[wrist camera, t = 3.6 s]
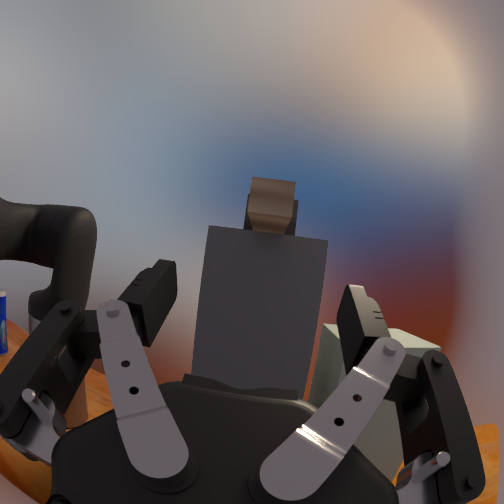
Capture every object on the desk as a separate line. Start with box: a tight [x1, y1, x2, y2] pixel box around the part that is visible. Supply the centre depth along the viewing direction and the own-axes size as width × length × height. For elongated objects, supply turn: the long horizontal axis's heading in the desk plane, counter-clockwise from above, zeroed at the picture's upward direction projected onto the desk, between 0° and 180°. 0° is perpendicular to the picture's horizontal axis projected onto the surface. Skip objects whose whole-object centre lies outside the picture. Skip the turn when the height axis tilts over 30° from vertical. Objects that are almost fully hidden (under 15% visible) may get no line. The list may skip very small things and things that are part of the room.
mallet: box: [244, 177, 298, 236], centre depth 29 cm, size 20×6×5 cm, turn 176°
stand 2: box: [308, 324, 441, 483], centre depth 30 cm, size 12×12×22 cm
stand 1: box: [191, 226, 328, 400], centre depth 33 cm, size 12×12×32 cm
